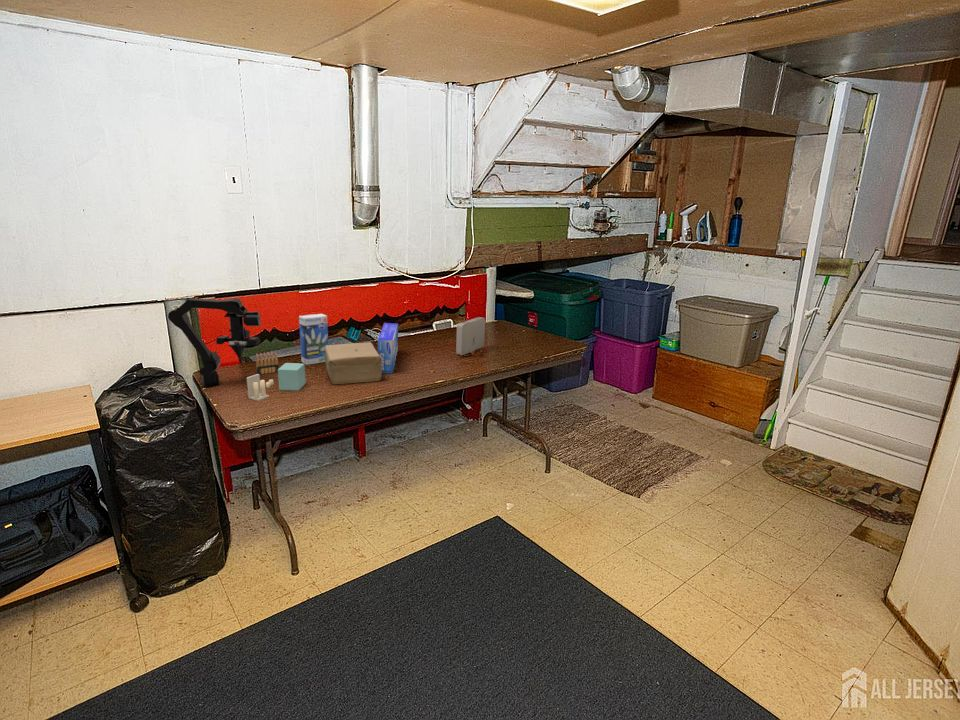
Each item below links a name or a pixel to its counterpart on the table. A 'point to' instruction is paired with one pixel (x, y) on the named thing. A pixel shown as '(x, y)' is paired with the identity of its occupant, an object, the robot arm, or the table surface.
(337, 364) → the paper package
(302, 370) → the housing
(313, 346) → the string lights box
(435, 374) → the table surface
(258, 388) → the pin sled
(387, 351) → the toner cartridge box
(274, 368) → the ammunition clip
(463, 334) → the network device
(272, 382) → the board
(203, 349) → the robot arm
